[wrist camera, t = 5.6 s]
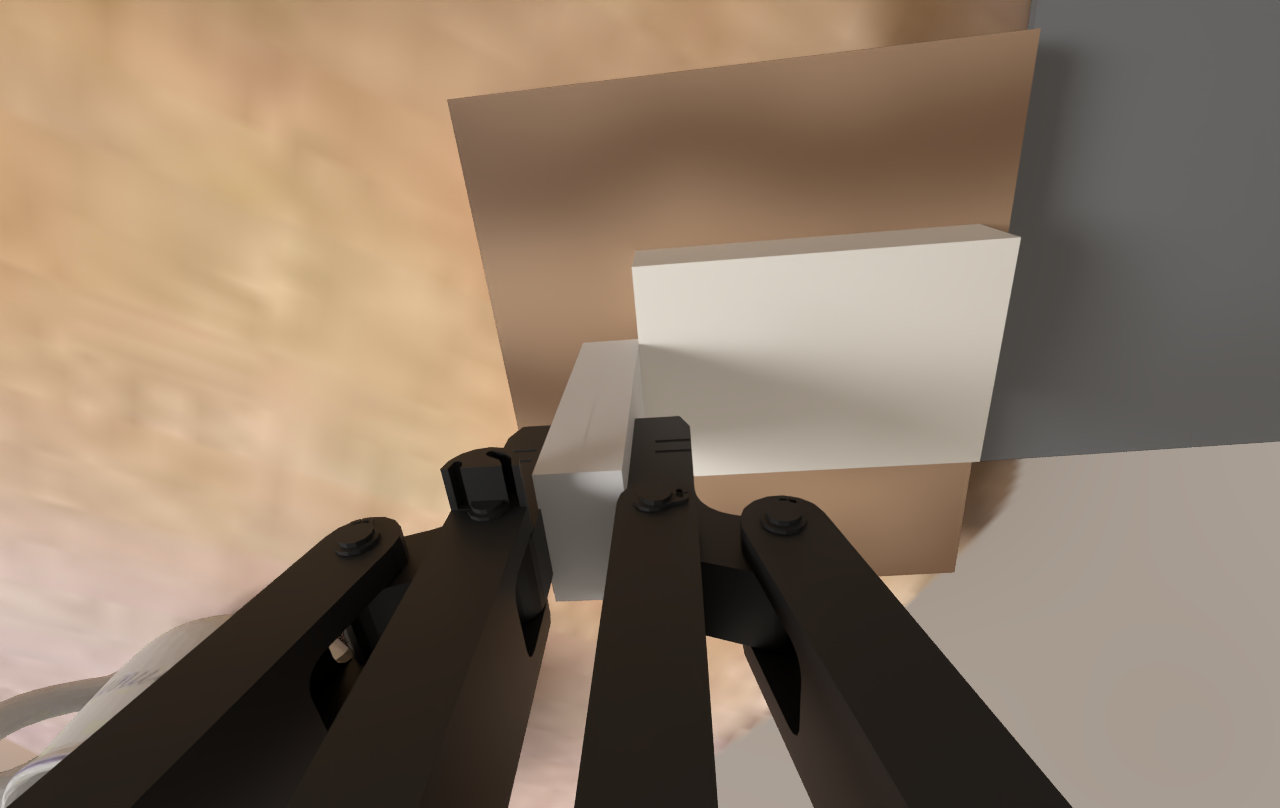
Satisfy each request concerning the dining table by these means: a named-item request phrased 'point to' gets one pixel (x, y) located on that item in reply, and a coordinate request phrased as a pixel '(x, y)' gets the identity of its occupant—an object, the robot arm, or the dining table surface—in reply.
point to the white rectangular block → (826, 346)
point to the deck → (741, 218)
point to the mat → (1145, 233)
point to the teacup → (97, 701)
